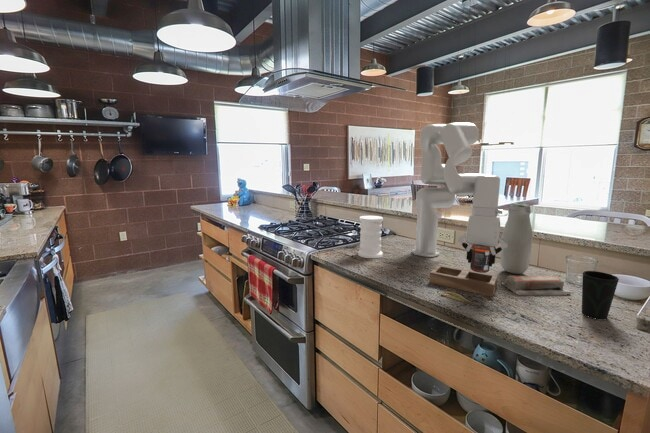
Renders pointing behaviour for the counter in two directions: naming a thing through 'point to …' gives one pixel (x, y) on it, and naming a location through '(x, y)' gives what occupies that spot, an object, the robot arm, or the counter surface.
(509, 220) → the glass bottle
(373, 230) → the decorative container
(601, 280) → the cup
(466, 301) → the tongs
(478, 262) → the supplement bottle
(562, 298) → the counter surface
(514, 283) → the packaged product
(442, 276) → the rack
